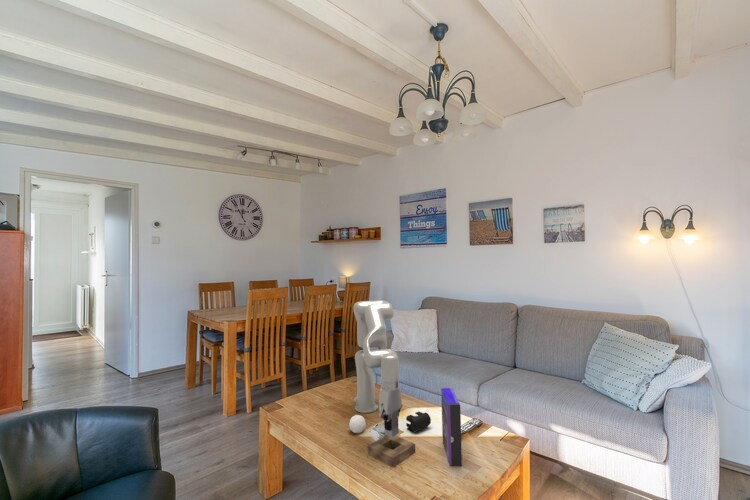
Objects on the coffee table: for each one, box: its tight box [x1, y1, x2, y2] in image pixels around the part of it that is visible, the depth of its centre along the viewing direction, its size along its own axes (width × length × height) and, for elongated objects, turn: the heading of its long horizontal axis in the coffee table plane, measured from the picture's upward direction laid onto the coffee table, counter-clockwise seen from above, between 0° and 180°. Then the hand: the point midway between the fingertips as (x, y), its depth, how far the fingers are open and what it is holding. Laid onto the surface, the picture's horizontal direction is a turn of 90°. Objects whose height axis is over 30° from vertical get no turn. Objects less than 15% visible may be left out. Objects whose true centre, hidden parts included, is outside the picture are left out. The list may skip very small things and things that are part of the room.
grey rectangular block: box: [384, 410, 399, 437], centre depth 151 cm, size 4×4×10 cm
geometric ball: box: [348, 414, 366, 434], centre depth 170 cm, size 8×8×8 cm
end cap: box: [405, 411, 432, 434], centre depth 171 cm, size 10×7×7 cm
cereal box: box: [440, 387, 463, 467], centre depth 150 cm, size 17×5×24 cm, turn 178°
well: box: [367, 435, 416, 468], centre depth 151 cm, size 14×14×4 cm
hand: (391, 427), depth 151 cm, fingers closed on grey rectangular block, 4 cm apart
